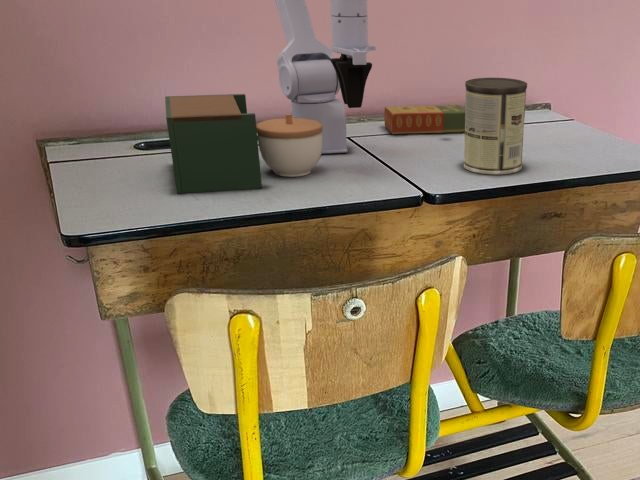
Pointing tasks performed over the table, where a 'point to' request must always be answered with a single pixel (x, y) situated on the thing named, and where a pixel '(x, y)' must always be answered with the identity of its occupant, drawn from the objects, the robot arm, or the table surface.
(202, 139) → the cabinet
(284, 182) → the table surface
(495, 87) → the coffee can
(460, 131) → the carton
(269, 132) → the trinket box
